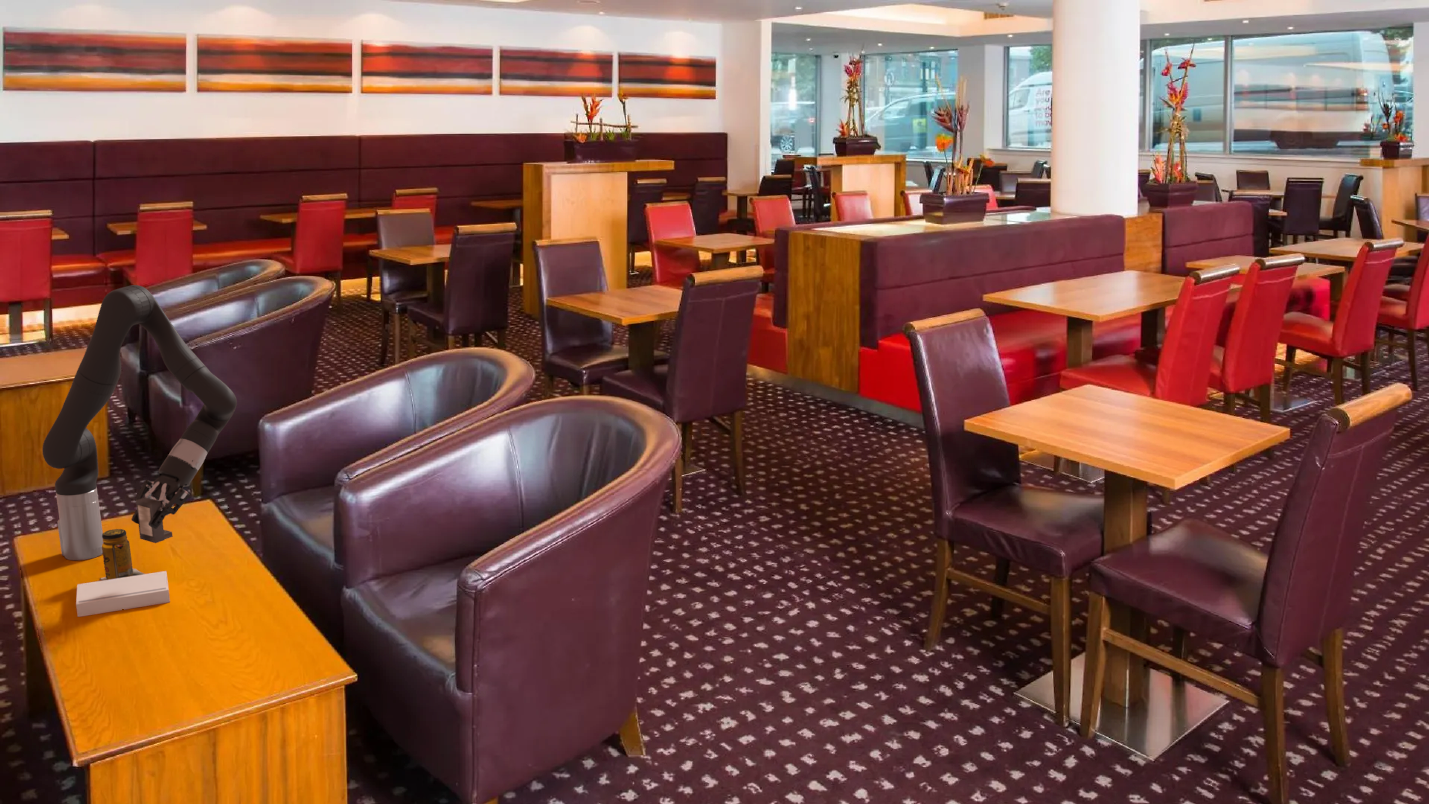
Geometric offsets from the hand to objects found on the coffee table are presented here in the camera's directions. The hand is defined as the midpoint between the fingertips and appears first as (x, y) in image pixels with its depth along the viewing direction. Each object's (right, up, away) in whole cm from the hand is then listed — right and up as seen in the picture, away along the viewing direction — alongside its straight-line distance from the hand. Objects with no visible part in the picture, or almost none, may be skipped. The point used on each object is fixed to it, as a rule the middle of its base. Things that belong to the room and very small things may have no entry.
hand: (143, 524), depth 279 cm
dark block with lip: (+1, -4, +4) cm, 5 cm away
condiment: (-12, -15, +15) cm, 24 cm away
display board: (-5, -18, +2) cm, 19 cm away
